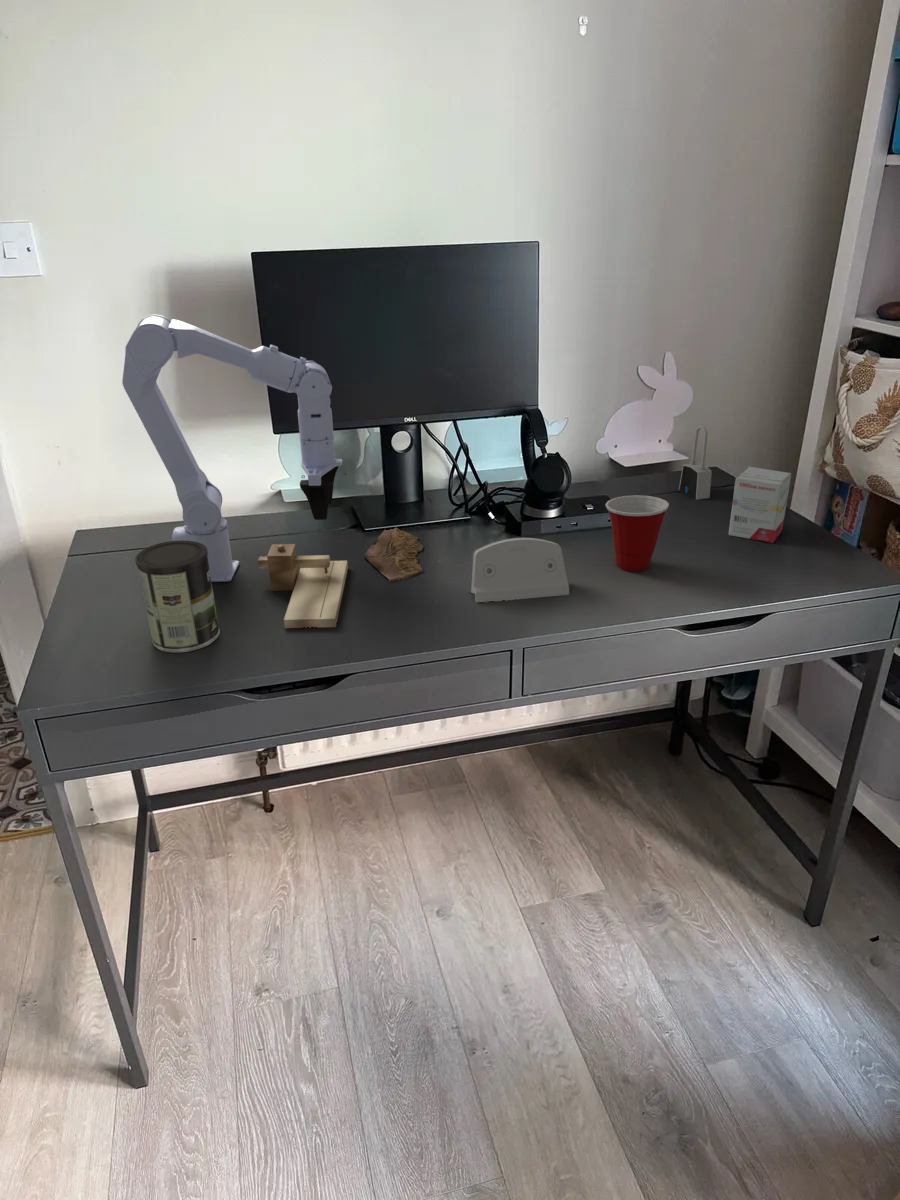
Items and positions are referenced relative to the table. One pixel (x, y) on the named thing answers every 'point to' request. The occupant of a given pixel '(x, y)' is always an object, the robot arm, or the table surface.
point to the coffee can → (178, 595)
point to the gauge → (288, 565)
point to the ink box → (759, 504)
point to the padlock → (696, 473)
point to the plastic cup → (635, 529)
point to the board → (317, 597)
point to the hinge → (518, 570)
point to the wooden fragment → (395, 554)
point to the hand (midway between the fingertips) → (323, 511)
